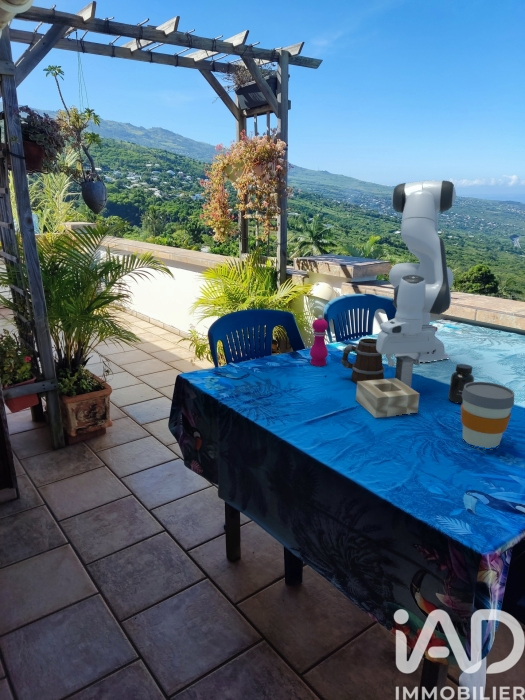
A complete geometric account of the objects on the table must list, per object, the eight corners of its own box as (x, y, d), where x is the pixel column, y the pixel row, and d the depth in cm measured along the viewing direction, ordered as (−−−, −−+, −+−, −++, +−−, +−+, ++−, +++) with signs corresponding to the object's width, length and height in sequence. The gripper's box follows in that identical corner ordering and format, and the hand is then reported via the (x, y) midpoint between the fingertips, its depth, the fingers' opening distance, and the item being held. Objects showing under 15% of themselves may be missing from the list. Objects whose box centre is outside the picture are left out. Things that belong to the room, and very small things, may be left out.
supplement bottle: (460, 406, 150) (465, 370, 146) (443, 398, 156) (447, 364, 152) (475, 402, 153) (480, 367, 149) (458, 395, 159) (462, 361, 155)
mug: (383, 376, 176) (387, 337, 172) (383, 388, 165) (386, 347, 160) (341, 372, 180) (343, 334, 175) (338, 383, 169) (340, 343, 164)
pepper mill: (327, 361, 193) (329, 313, 187) (327, 366, 186) (330, 317, 180) (309, 360, 193) (311, 313, 188) (309, 366, 187) (311, 317, 181)
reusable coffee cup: (482, 456, 119) (491, 402, 115) (445, 435, 130) (452, 385, 126) (517, 447, 124) (526, 394, 120) (479, 427, 135) (486, 378, 131)
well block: (394, 396, 157) (396, 378, 155) (417, 413, 144) (419, 393, 142) (355, 400, 154) (357, 381, 152) (375, 417, 141) (377, 397, 139)
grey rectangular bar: (404, 388, 165) (407, 355, 161) (410, 392, 161) (414, 359, 157) (393, 389, 164) (396, 356, 160) (399, 393, 160) (402, 360, 156)
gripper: (430, 322, 161) (426, 360, 164) (375, 324, 156) (372, 364, 160) (441, 326, 155) (436, 366, 159) (384, 328, 150) (381, 369, 154)
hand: (403, 365), depth 159 cm, fingers open, 8 cm apart
